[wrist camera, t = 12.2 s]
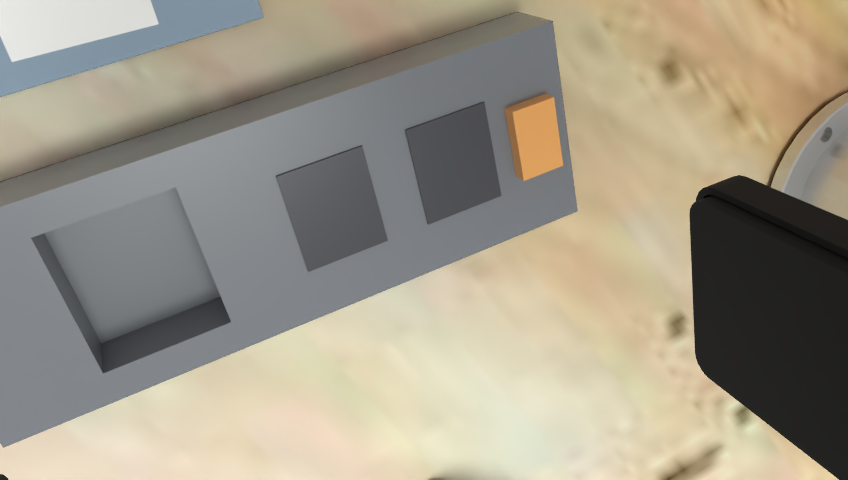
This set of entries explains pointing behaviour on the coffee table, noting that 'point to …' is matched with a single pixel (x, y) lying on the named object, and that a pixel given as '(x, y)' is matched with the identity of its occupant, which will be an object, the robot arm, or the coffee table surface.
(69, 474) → the coffee table surface
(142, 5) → the block
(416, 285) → the coffee table surface
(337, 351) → the coffee table surface
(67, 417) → the power strip
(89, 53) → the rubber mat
